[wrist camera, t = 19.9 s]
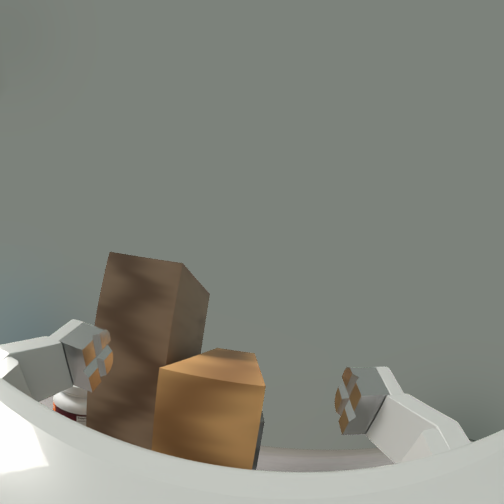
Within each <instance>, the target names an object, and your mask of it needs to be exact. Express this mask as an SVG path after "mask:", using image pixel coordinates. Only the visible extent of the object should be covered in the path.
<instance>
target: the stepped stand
mask: <svg viewBox="0 0 504 504" xmlns="http://www.w3.org/2000/svg"><path fill="white" fill-rule="evenodd" d="M209 295H210V294H209V293H208V292H207V291H206V289H205V288H204V287H203V286H202V285H201V284H200V283H199V282H198V280H197V279H196V278H195V277H194V276H193V275H192V274H191V272H190V271H189V270H188V269H187V268H186V267H185V265H184V264H183V263H177V262H170V261H164V260H158V259H151V258H145V257H138V256H131V255H126V254H119V253H114V252H110V253H109V257H108V261H107V265H106V269H105V274H104V279H103V283H102V288H101V292H100V298H99V303H98V308H97V314H96V320H95V326H97V327H100V328H103V329H106V330H108V332H109V333H110V339H111V341H110V343H109V344H108V346H109V347H110V349H111V350H112V353H113V364H112V366H111V369H110V371H109V372H108V374H107V375H104V376H102V377H100V378H101V383H100V384H99V385H98V386H97V388H96V389H95V390H94V391H93V393H92V392H90V391H87V411H86V427H89V428H91V429H93V430H96V431H98V432H101V433H103V434H105V435H108V436H111V437H113V438H116V439H119V440H121V441H124V442H127V443H130V444H133V445H136V446H139V447H142V448H145V449H149V450H152V437H153V423H154V412H155V402H156V392H157V383H158V375H159V368H160V367H164V366H167V365H170V364H173V363H176V362H179V361H182V360H185V359H188V358H191V357H194V356H196V355H199V354H201V347H202V340H203V333H204V327H205V319H206V314H207V308H208V301H209ZM263 426H264V418H263V413H261V419H260V425H259V431H258V437H257V443H256V449H255V455H254V461H253V466H252V470H256V467H257V461H258V456H259V450H260V444H261V439H262V433H263Z"/></svg>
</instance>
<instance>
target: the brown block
mask: <svg viewBox="0 0 504 504" xmlns="http://www.w3.org/2000/svg"><path fill="white" fill-rule="evenodd" d="M264 393H265V383H264V380H263V377H262V374H261V371H260V368H259V366H258V362H257V359H256V356H255V354H254V353H248V352H240V351H233V350H227V349H220V348H216V349H213V350H210V351H208V352H205V353H202V354H199V355H196V356H194V357H191V358H188V359H185V360H182V361H179V362H176V363H173V364H170V365H167V366H164V367H160V368H159V375H158V383H157V392H156V402H155V412H154V423H153V437H152V451H155V452H159V453H163V454H166V455H170V456H174V457H178V458H183V459H187V460H192V461H197V462H202V463H207V464H213V465H219V466H226V467H233V468H241V469H250V470H252V466H253V461H254V455H255V449H256V443H257V437H258V431H259V425H260V419H261V413H262V406H263V399H264Z"/></svg>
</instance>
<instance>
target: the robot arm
mask: <svg viewBox="0 0 504 504" xmlns="http://www.w3.org/2000/svg"><path fill="white" fill-rule="evenodd" d="M110 341H111V339H110V333H109V332H108V330H106V329H103V328H100V327H97V326H93V325H91V324H88V323H84V322H82V321H78V320H73V319H72V320H71V321H69V322H68V323H67V324H65V325H64V326H63V327H62V328H60V329H59V330H57V331H56V332H55V333H53V334H52V335H51V336H49V337H47V336H43V337H38V338H33V339H28V340H24V341H18V342H13V343H8V344H3V345H0V504H504V429H503V430H501V431H499V432H497V433H495V434H492V435H490V436H488V437H485V438H483V439H480V440H478V441H475V442H472V443H471V442H470V441H469V439H468V438H467V436H466V434H465V433H464V431H463V430H462V428H461V427H460V425H459V424H458V422H456V421H455V420H453V419H451V418H449V417H448V416H446V415H444V414H442V413H440V412H439V411H437V410H435V409H433V408H432V407H430V406H428V405H426V404H425V403H423V402H421V401H419V400H418V399H416V398H414V397H413V396H411V395H409V394H404V393H403V391H402V390H401V388H400V386H399V384H398V382H397V381H396V379H395V377H394V376H393V374H392V372H391V371H390V369H389V368H388V367H359V368H358V367H355V368H353V367H347V368H346V369H345V371H344V373H343V376H342V378H343V381H344V383H342V384H341V385H340V386H339V387H338V389H337V392H336V397H335V408H336V412H337V413H338V414H339V415H340V416H341V417H340V419H339V424H340V428H341V432H342V435H360V434H366V436H367V437H368V438H369V439H370V440H371V441H372V442H373V443H374V444H375V445H376V446H377V447H378V448H379V449H380V450H381V451H382V452H383V453H384V454H385V455H386V456H387V457H389V458H390V459H391V460H392V461H393V462H394V463H395V464H391V465H385V466H379V467H371V468H364V469H355V470H343V471H328V472H278V471H262V470H250V469H241V468H233V467H226V466H219V465H213V464H207V463H202V462H197V461H192V460H187V459H183V458H178V457H174V456H170V455H166V454H163V453H159V452H155V451H152V450H149V449H145V448H142V447H139V446H136V445H133V444H130V443H127V442H124V441H121V440H119V439H116V438H113V437H111V436H108V435H105V434H103V433H101V432H98V431H96V430H93V429H91V428H89V427H86V426H84V425H82V424H80V423H78V422H76V421H73V420H71V419H69V418H67V417H65V416H63V415H61V414H59V413H58V412H56V411H54V410H52V409H50V408H48V407H46V406H45V405H43V404H41V403H39V401H42V400H44V399H46V398H49V397H51V396H53V395H55V394H57V393H60V392H62V391H64V390H66V389H68V388H71V387H73V385H74V386H77V387H79V388H82V389H84V390H87V391H90V392H92V393H93V391H94V390H95V389H96V388H97V386H98V385H99V384H100V383H101V378H100V377H102V376H104V375H107V374H108V372H109V371H110V369H111V366H112V364H113V353H112V350H111V349H110V347H109V346H108V344H109V343H110Z"/></svg>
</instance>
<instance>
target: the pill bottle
mask: <svg viewBox="0 0 504 504" xmlns="http://www.w3.org/2000/svg"><path fill="white" fill-rule="evenodd" d="M53 410H54V411H56V412H58V413H59V414H61V415H63V416H65V417H67V418H69V419H71V420H73V421H76V422H78V423H80V424H82V425H84V426H86V411H87V390H84V389H82V388H79V387H77V386H74V385H73V387H71V388H68V389H66V390H64V391H62V392H60V393H57V394H55V395H54V397H53Z"/></svg>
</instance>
